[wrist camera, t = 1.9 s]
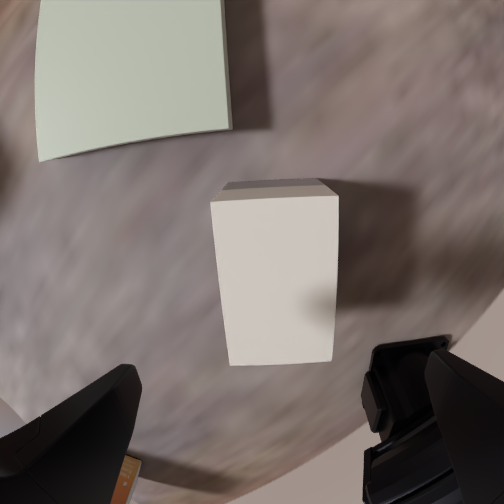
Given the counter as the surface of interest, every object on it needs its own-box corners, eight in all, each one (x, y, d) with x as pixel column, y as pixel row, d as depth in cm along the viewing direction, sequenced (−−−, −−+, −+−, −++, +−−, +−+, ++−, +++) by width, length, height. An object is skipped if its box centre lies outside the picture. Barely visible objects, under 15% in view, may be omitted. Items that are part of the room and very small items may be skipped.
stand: (221, -43, 13) (217, -58, 11) (232, 129, 17) (228, 128, 15) (56, 5, 14) (41, -3, 12) (56, 159, 18) (39, 162, 16)
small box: (143, 459, 28) (118, 534, 18) (138, 477, 30) (117, 543, 20) (78, 431, 27) (43, 499, 18) (80, 452, 29) (51, 513, 19)
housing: (316, 177, 18) (338, 195, 12) (316, 303, 20) (331, 361, 15) (228, 182, 18) (210, 201, 12) (239, 306, 21) (230, 365, 15)
